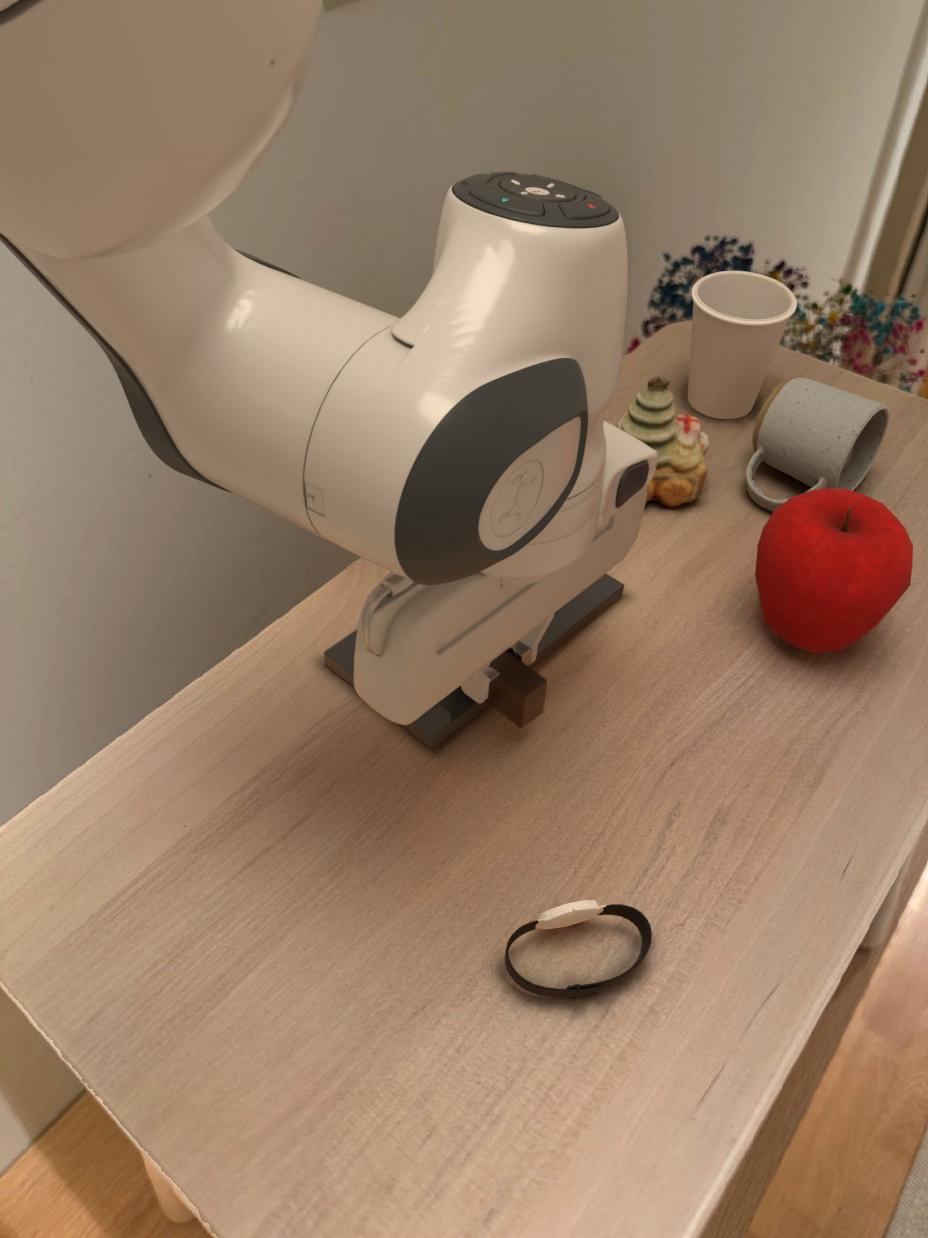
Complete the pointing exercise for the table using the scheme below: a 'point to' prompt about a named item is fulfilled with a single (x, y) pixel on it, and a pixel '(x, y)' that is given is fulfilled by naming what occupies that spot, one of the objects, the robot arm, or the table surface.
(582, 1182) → the table surface
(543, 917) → the watch
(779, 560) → the apple
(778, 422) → the ceramic mug
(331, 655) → the butter dish
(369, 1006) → the table surface
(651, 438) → the ornament
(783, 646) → the table surface
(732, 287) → the dixie cup
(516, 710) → the dark brown boxy part
